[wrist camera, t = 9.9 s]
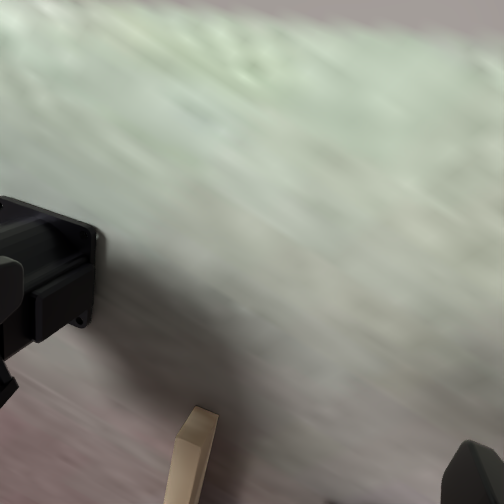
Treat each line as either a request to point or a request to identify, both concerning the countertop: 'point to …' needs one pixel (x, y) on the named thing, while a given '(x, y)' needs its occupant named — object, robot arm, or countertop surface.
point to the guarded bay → (191, 457)
